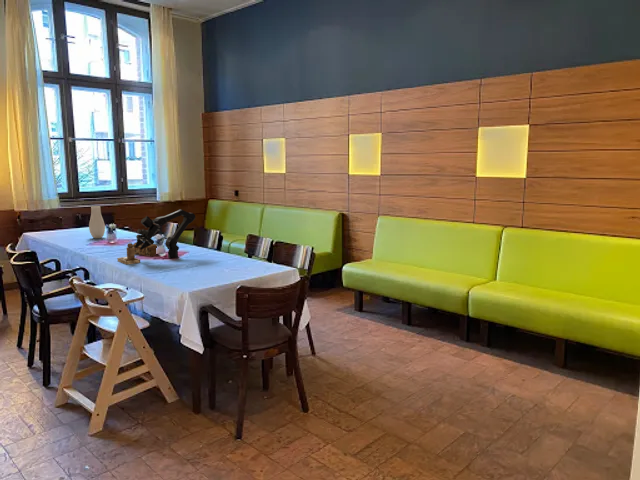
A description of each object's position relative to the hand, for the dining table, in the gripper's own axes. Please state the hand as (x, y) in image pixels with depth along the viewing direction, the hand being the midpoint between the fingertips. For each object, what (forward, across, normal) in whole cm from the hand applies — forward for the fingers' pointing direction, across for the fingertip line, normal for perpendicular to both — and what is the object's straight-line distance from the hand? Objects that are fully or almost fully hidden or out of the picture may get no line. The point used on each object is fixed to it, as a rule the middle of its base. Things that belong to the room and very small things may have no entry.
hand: (137, 248), depth 351 cm
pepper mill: (+11, 0, +3) cm, 11 cm away
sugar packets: (+11, -8, +3) cm, 14 cm away
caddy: (+11, -4, +3) cm, 12 cm away
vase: (-4, -133, +20) cm, 135 cm away
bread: (-4, -25, +19) cm, 32 cm away
